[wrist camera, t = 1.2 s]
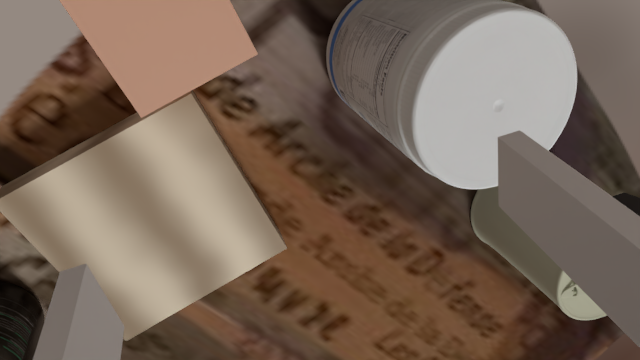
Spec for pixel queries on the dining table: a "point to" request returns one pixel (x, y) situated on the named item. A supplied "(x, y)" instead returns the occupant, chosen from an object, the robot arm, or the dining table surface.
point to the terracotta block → (162, 44)
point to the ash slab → (147, 212)
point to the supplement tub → (453, 79)
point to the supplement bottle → (19, 323)
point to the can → (528, 256)
